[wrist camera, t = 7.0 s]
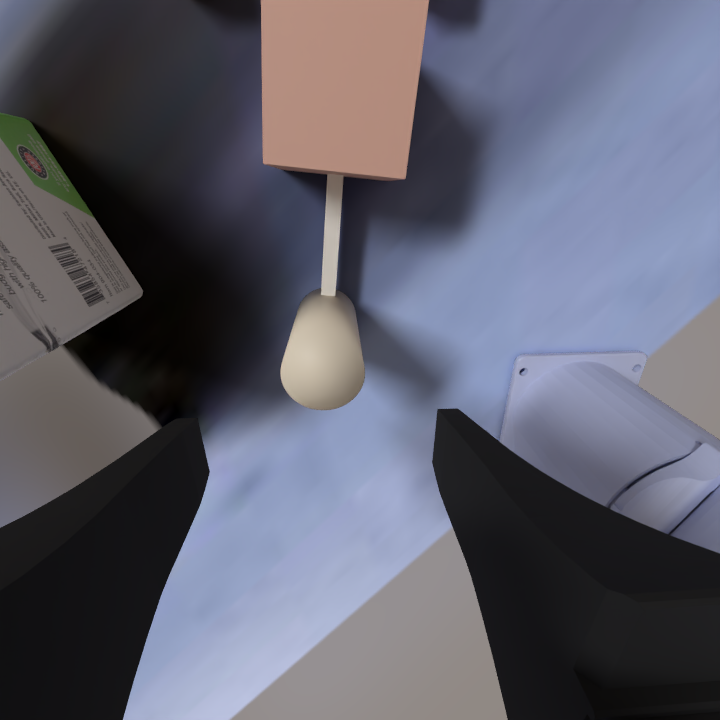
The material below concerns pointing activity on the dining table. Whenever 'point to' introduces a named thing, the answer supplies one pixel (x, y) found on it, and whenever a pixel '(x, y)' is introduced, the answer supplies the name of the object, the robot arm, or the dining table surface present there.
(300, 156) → the pink handled block
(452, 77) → the dining table surface
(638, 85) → the dining table surface
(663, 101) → the dining table surface
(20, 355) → the ink box
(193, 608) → the dining table surface
